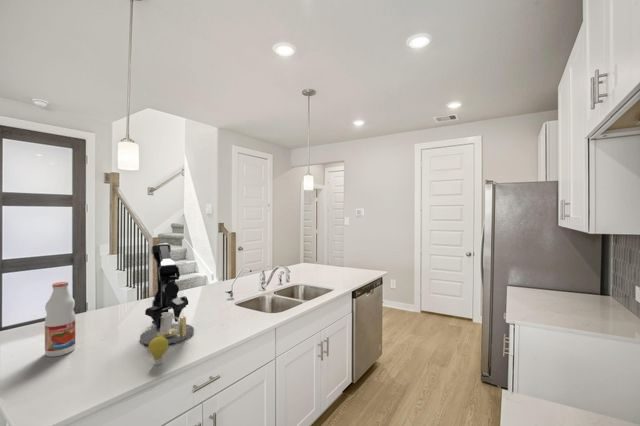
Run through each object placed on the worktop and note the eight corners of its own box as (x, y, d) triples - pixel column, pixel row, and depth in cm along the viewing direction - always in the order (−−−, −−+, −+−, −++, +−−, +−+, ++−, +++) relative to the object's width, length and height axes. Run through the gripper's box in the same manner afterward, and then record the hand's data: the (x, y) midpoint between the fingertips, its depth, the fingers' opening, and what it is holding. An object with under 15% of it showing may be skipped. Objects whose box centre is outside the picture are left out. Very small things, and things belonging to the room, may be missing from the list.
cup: (161, 328, 142) (161, 311, 142) (182, 329, 142) (182, 312, 142) (153, 335, 135) (153, 317, 135) (175, 335, 135) (175, 317, 135)
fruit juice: (65, 345, 128) (65, 279, 127) (81, 348, 125) (81, 281, 124) (38, 355, 119) (38, 284, 118) (55, 359, 116) (55, 286, 116)
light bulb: (172, 360, 115) (172, 335, 115) (157, 369, 109) (157, 342, 109) (159, 357, 118) (159, 332, 117) (143, 366, 111) (144, 339, 111)
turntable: (128, 339, 132) (128, 318, 132) (171, 322, 152) (171, 304, 152) (163, 349, 123) (163, 326, 123) (204, 330, 144) (204, 310, 144)
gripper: (162, 299, 126) (162, 336, 126) (197, 288, 143) (196, 321, 143) (144, 295, 130) (144, 331, 131) (179, 285, 147) (179, 317, 148)
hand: (167, 325), depth 138 cm, fingers open, 9 cm apart
